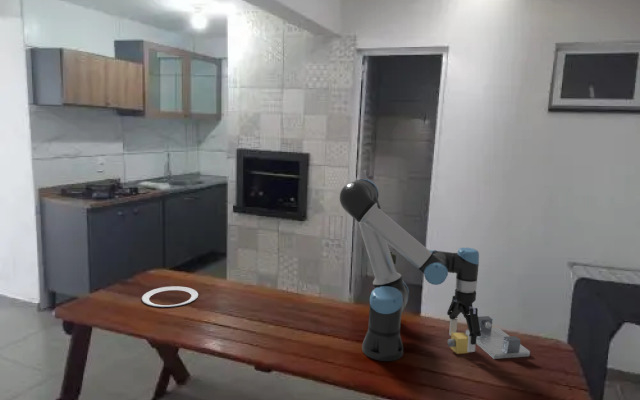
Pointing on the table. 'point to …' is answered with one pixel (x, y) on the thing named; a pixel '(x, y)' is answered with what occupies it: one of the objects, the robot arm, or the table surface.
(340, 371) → the table surface
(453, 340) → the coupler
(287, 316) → the table surface
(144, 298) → the flat white ring
